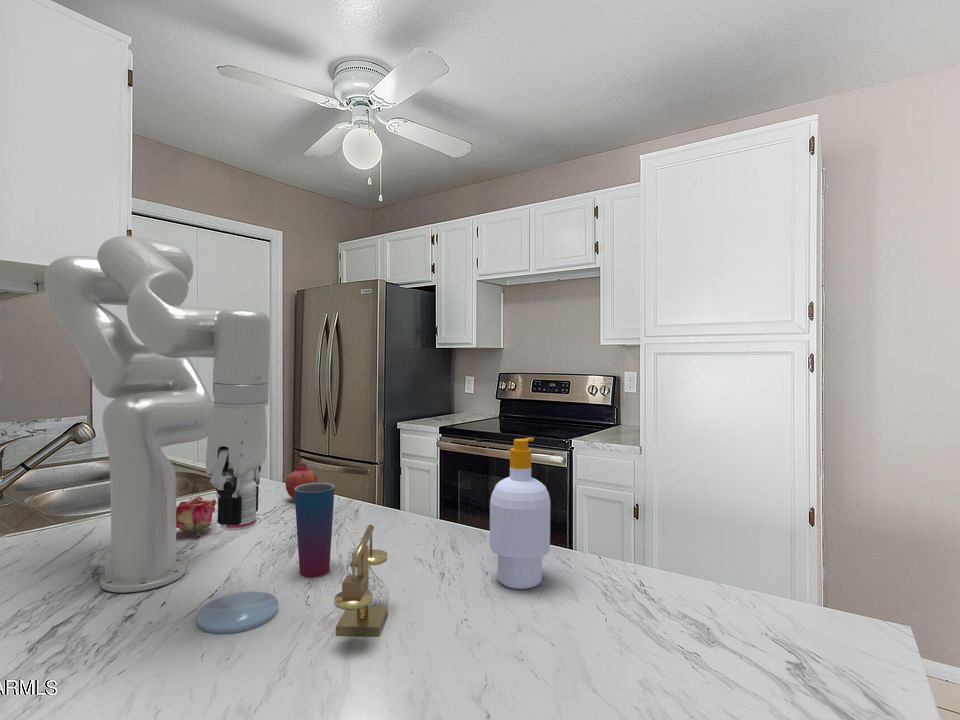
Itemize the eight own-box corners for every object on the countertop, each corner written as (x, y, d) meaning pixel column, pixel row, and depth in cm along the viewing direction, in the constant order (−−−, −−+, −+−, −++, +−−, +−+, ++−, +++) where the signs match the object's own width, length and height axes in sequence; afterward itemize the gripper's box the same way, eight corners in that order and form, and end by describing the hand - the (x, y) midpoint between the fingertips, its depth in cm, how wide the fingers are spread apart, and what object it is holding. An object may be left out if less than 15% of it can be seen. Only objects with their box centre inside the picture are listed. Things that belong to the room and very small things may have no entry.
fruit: (279, 504, 139) (279, 464, 139) (295, 495, 147) (295, 458, 147) (309, 506, 138) (309, 466, 138) (323, 497, 146) (323, 459, 146)
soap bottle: (561, 580, 95) (563, 440, 95) (524, 600, 88) (525, 447, 87) (515, 564, 102) (516, 433, 102) (476, 581, 95) (477, 439, 94)
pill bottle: (262, 523, 83) (264, 468, 83) (237, 533, 79) (238, 475, 79) (239, 518, 85) (240, 464, 85) (213, 527, 81) (214, 470, 81)
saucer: (181, 632, 77) (180, 625, 77) (220, 597, 88) (220, 590, 88) (259, 634, 77) (259, 627, 77) (289, 598, 88) (289, 592, 88)
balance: (325, 652, 72) (325, 554, 72) (355, 600, 87) (355, 518, 87) (371, 654, 72) (371, 555, 72) (393, 601, 87) (393, 519, 87)
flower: (230, 526, 117) (223, 491, 120) (188, 529, 109) (182, 492, 113) (203, 546, 120) (197, 511, 124) (161, 550, 113) (155, 513, 116)
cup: (323, 581, 94) (323, 493, 94) (286, 577, 95) (286, 491, 95) (341, 566, 101) (341, 483, 100) (306, 562, 102) (306, 481, 102)
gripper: (242, 388, 90) (239, 499, 91) (183, 400, 73) (180, 537, 74) (288, 390, 90) (285, 501, 91) (239, 403, 73) (236, 540, 74)
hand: (238, 516), depth 82 cm, fingers closed on pill bottle, 4 cm apart
